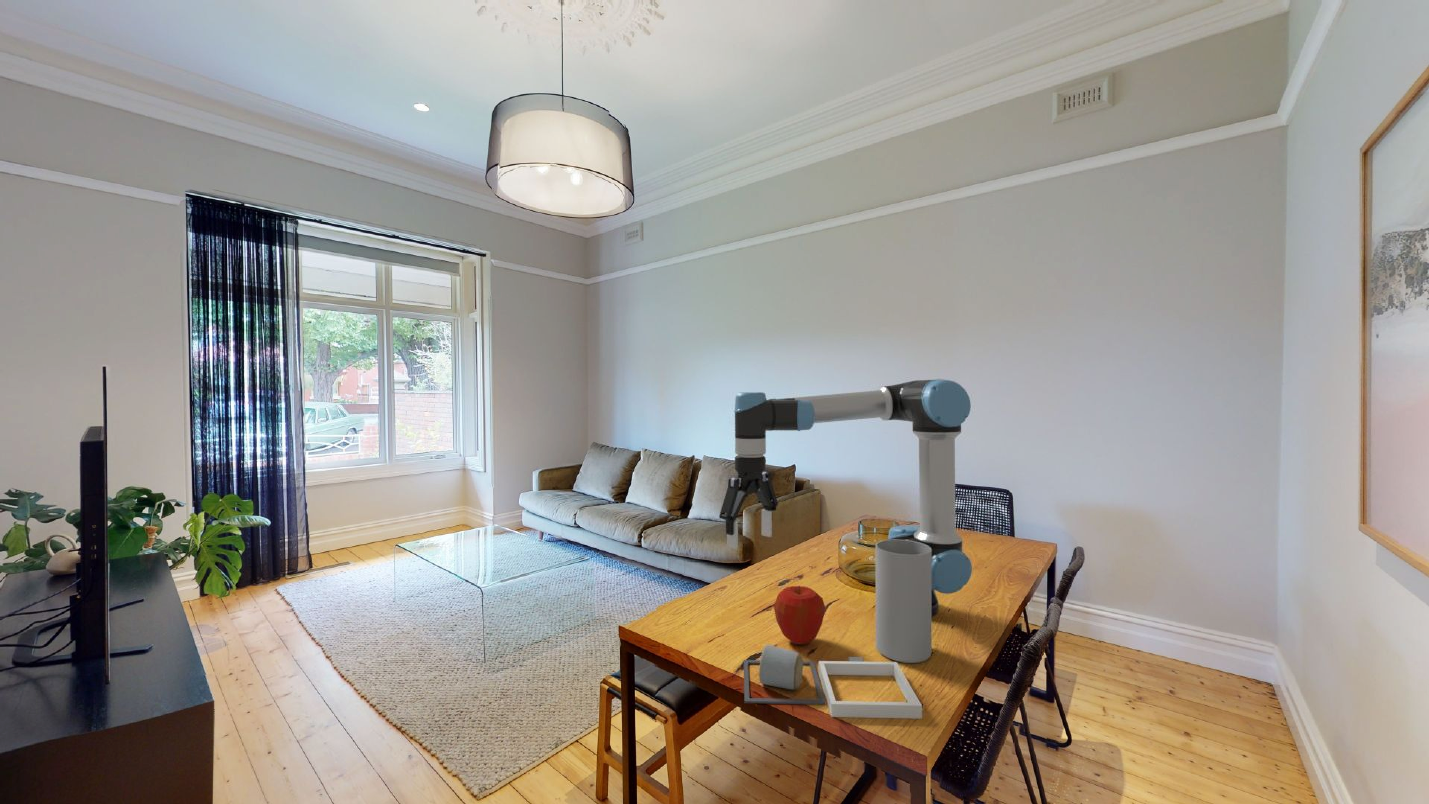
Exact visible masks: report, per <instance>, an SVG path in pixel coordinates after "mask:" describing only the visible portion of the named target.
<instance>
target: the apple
mask: <svg viewBox="0 0 1429 804" xmlns="http://www.w3.org/2000/svg"><path fill="white" fill-rule="evenodd" d="M773 610H774V615H775V620H776V622H777V625H778V627H779V629H780V631H781V633H782V635H783V636H784V637H785V638H786V639H788V640H789V641H790V642H791V643H793V644H795V645H797V646H799V645H800V646H803V645H808V644H809V643H811V642H812V641H814V640H815V639H816V637H817V636H818V634H819V632H820V629H821V628H822V625H823V622H824V616H825V612H826V606H825V602H824V599H823V597H821V595H820V594H819V593H817V592H816V591H815V590H813V589H812V588H811V587H808V586H805V585H804V586H802V585H801V586H800V585H792V586H786V587H785V588H783V589H782V590H781V591H779V593H777V596H776V599H775V601H774V604H773Z"/></svg>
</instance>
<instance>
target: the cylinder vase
mask: <svg viewBox="0 0 1429 804" xmlns="http://www.w3.org/2000/svg"><path fill="white" fill-rule="evenodd" d="M931 583H932V549H931V548H930V547H929V546H927V545H925V544H922V543H919V542H915V541H909V540H897V539H893V540H888V539H883V540H880V541H877V542H876V543H875V648H876V650H877V651H878V653H880V655H882V656H884V657H885V658H887V659H890V660H893V661H894V662H897V663H898V662H900V663H905V664H918V663H923V662H926V661H927V660H929V659H930V657H931V655H932V616H931Z"/></svg>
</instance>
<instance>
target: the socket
mask: <svg viewBox="0 0 1429 804" xmlns="http://www.w3.org/2000/svg"><path fill="white" fill-rule="evenodd" d="M818 675H819V680H820V683H821V687H822V688H823V694H824V697H825V701H826V703H827V706H828V710H829V712H830V717H831V718H863V719H864V718H865V719H866V718H868V719H869V718H870V719H871V718H872V719H873V718H874V719H915V720H916V719H917V720H920V719H923V705H922V704H921V702H920V700H919V698H918V696H917V694H916V692H915V691H914V690H913V688H912V686H911V684H910V682H909V681H908V679H907V678H906V676H905V674H904V672H903V671H902V669H901V668H900V665H899V664H898V661H864V658H863V657H862V656H848V660H847V661H845V660H844V661H841V660H839V661H838V660H835V661H834V660H819V661H818ZM828 675H829V676H830V675H831V676H882V677H883V676H888V677H893V678H894V679H895V681H896V684H897V686H898V687H899V689H900V690H901V693H902V695H903V696H904V697H905V700H906V701H862V700H861V701H855V700H854V701H853V700H849V701H848V700H845V701H844V700H836V698H835V694H834V691H833V688H832V684H831V682H830V681H831V680H830V679H829V676H828Z"/></svg>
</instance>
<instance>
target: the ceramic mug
mask: <svg viewBox="0 0 1429 804" xmlns="http://www.w3.org/2000/svg"><path fill="white" fill-rule="evenodd" d="M803 661H804V658H803V656H802V654H801V653H799V652H796V651H793V650H790V649H785V648H782V647H779V646H778V647H777V646H774V645H770V644H766V645H765V646H764V647H763V649H762V652H761V655H760V664H759V673H758V674H759V675H758V676H759V683H760V684H762V685H767V686H770V687H771V686H772V687H775V688H776V687H777V688H783V689H786V690H794V691H795V690H798V689H799V688H800V685H801V682H802V679H803V671H804V665H803Z"/></svg>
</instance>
